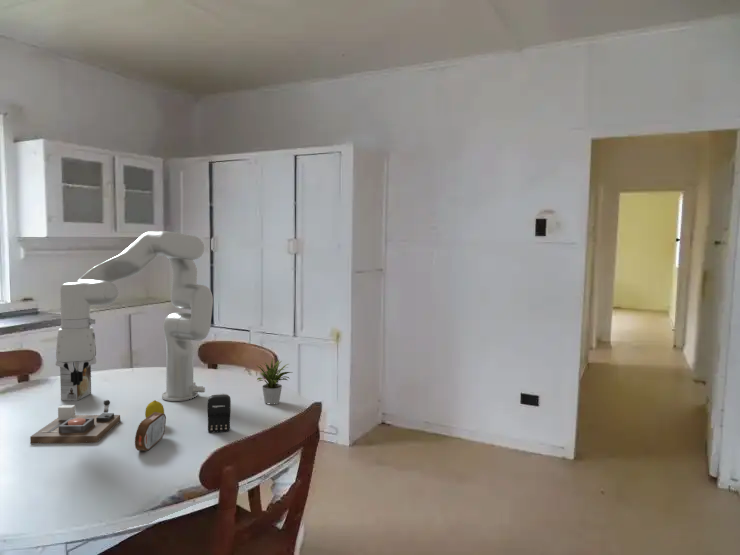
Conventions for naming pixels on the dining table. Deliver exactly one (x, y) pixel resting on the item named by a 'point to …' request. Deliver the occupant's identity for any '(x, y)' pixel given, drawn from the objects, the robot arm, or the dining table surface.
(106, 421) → the control board
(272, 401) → the house plant
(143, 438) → the tin
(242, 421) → the dining table surface
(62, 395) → the coffee box
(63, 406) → the block
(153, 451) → the dining table surface
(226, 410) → the battery charger
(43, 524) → the dining table surface
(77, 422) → the push button
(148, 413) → the lemon
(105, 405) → the toggle lever
